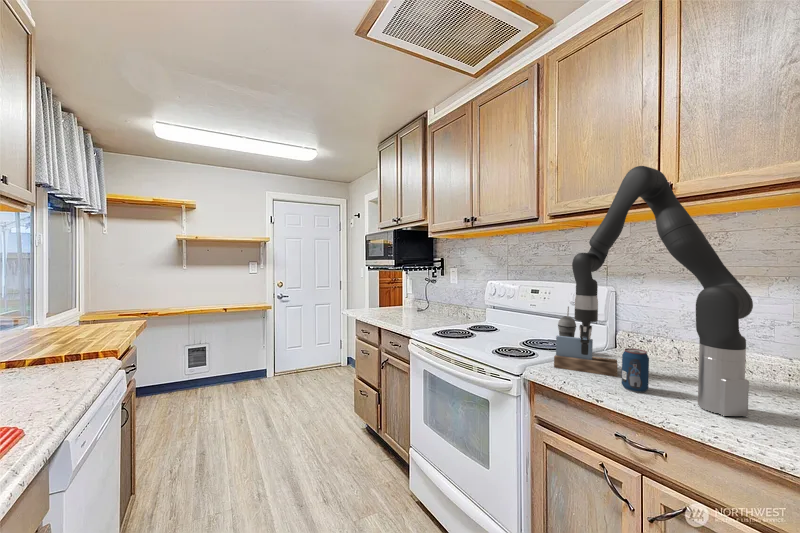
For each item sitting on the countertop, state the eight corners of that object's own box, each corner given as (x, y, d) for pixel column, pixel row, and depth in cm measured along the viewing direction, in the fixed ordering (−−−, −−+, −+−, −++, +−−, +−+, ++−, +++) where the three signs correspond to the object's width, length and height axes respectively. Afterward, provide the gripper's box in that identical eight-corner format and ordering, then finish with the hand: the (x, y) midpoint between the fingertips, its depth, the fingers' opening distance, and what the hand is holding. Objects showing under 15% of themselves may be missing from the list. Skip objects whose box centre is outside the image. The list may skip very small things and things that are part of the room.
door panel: (592, 366, 130) (592, 339, 130) (591, 368, 128) (592, 340, 128) (556, 361, 136) (556, 335, 136) (555, 362, 134) (556, 336, 134)
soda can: (638, 385, 114) (639, 347, 114) (653, 393, 107) (654, 353, 107) (616, 385, 114) (617, 347, 114) (630, 393, 107) (631, 353, 107)
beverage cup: (572, 350, 157) (572, 305, 156) (578, 355, 149) (579, 307, 149) (554, 350, 157) (555, 304, 157) (560, 354, 150) (561, 307, 150)
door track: (616, 370, 129) (616, 359, 129) (617, 376, 122) (617, 365, 122) (556, 362, 139) (556, 351, 139) (553, 367, 132) (554, 356, 132)
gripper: (597, 310, 122) (596, 358, 122) (598, 306, 134) (597, 349, 135) (573, 309, 126) (572, 354, 126) (576, 304, 138) (575, 346, 138)
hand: (585, 351), depth 130 cm, fingers open, 8 cm apart
